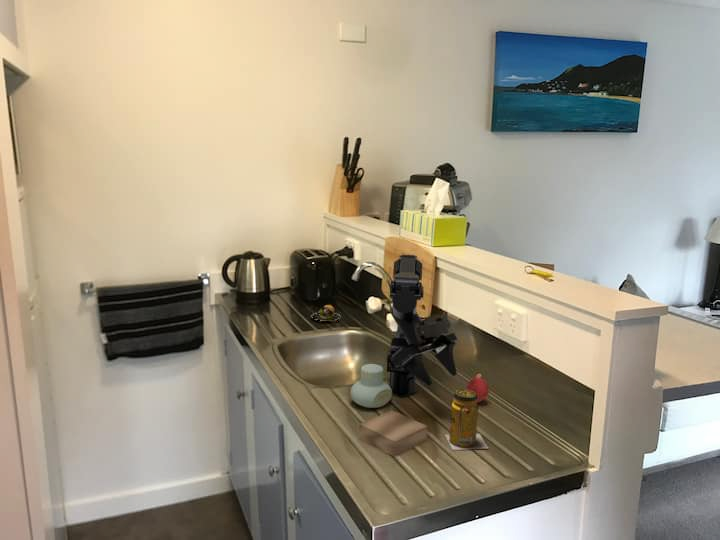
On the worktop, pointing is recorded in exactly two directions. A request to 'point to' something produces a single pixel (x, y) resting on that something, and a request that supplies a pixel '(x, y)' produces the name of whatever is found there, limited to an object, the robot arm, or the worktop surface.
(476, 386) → the onion
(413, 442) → the pinkish brown square block
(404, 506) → the worktop surface
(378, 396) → the air freshener
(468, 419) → the condiment
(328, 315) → the burger
